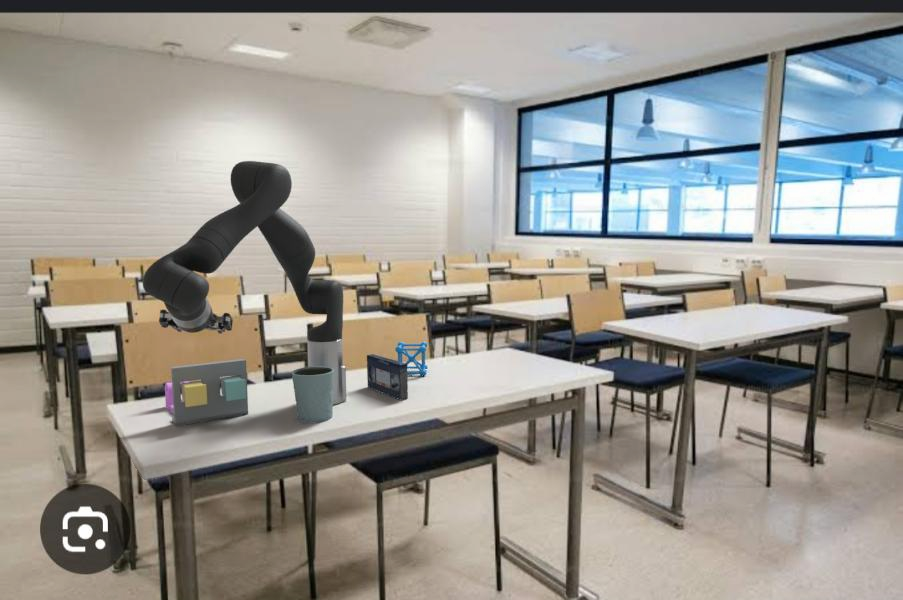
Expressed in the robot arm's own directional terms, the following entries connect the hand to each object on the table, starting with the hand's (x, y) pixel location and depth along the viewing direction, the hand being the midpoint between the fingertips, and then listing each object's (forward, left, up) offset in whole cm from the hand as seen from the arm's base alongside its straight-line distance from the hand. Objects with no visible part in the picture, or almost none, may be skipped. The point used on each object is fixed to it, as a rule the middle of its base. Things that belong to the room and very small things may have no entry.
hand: (200, 328), depth 135 cm
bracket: (+1, -22, -25) cm, 33 cm away
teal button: (-8, -7, -19) cm, 21 cm away
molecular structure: (-69, -25, -25) cm, 77 cm away
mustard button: (+1, -7, -19) cm, 20 cm away
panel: (-3, -12, -24) cm, 27 cm away
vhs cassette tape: (-51, -8, -25) cm, 57 cm away
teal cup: (-25, +3, -25) cm, 35 cm away
